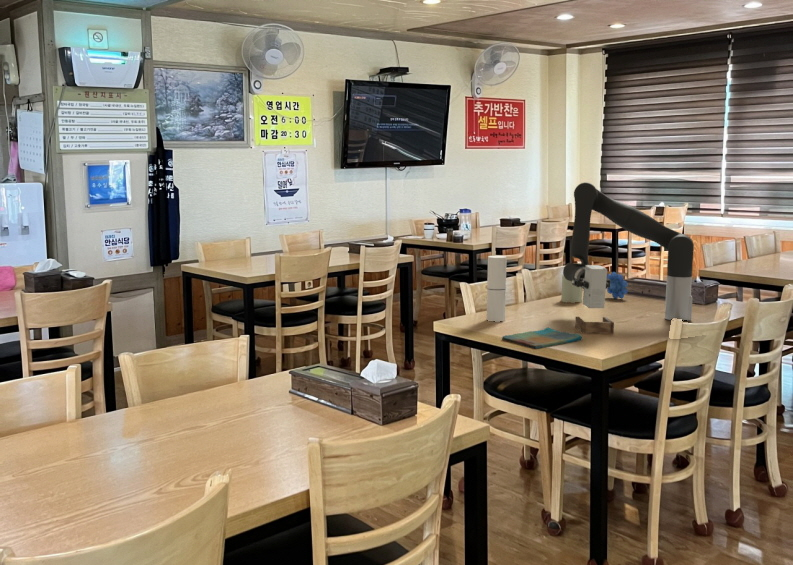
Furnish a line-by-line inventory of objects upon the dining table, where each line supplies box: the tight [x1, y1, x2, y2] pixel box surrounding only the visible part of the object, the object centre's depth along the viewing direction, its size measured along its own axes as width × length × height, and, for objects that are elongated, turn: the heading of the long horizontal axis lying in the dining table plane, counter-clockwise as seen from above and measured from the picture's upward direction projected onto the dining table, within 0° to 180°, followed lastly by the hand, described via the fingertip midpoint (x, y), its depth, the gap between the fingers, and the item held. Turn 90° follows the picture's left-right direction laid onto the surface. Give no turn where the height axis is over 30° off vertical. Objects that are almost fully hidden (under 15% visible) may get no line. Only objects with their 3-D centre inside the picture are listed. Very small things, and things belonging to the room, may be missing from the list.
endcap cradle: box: [574, 316, 615, 335], centre depth 292 cm, size 11×11×4 cm
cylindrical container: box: [486, 255, 508, 323], centre depth 308 cm, size 7×7×25 cm
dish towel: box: [501, 326, 583, 350], centre depth 276 cm, size 17×23×3 cm
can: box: [560, 274, 583, 304], centre depth 352 cm, size 9×9×12 cm
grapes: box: [606, 271, 629, 300], centre depth 359 cm, size 12×7×12 cm, turn 43°
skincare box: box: [582, 264, 608, 309], centre depth 291 cm, size 8×6×15 cm
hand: (596, 285), depth 288 cm, fingers closed on skincare box, 6 cm apart
